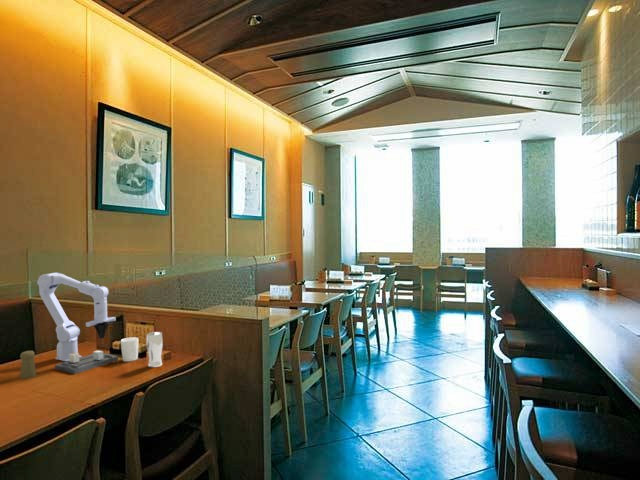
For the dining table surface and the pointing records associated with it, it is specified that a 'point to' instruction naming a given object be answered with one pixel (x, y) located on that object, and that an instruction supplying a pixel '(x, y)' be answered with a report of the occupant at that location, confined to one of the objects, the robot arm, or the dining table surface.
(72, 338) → the robot arm
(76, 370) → the console
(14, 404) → the dining table surface
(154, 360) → the beer glass
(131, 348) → the white cup
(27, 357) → the tan bulb-headed cylinder
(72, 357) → the fader cream
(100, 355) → the fader bluegrey
